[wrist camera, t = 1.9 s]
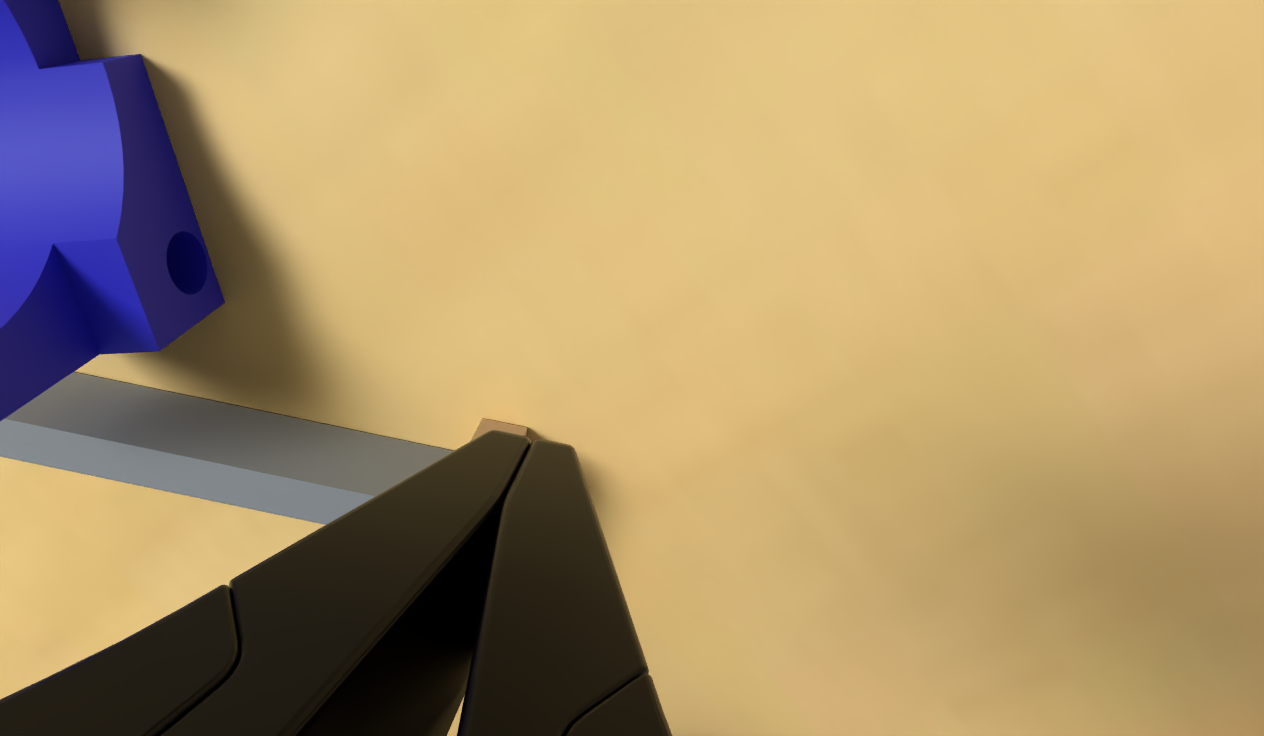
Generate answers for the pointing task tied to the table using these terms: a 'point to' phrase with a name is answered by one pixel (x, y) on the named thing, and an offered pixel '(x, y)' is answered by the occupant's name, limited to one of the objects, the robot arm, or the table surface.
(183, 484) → the grey piece
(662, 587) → the table surface
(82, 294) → the blue notched block
